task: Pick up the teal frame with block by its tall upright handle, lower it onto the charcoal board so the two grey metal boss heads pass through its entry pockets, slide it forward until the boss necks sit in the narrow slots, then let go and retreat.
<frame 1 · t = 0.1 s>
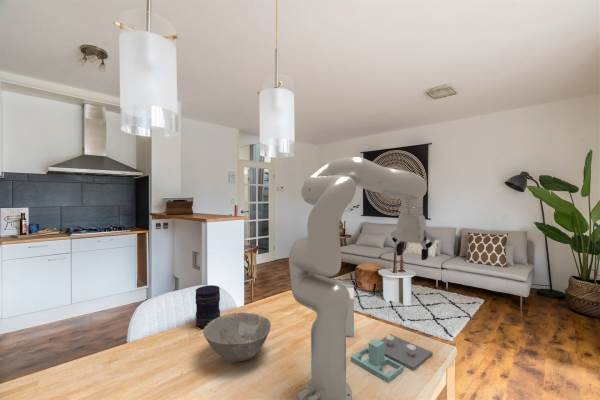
hand: (411, 257, 104), 31 cm above the table, fingers open, 9 cm apart
ceramic bowl: (238, 355, 95), on the table
storage jar: (208, 324, 117), on the table
board: (400, 351, 96), on the table
teal frame with block: (376, 365, 89), on the table
milk carton: (344, 332, 110), on the table
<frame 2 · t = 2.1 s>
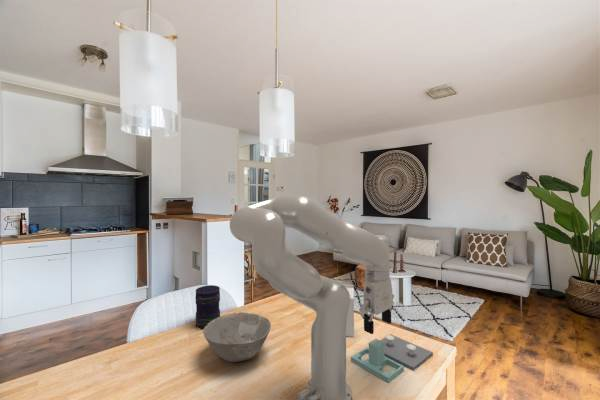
hand: (377, 326, 89), 12 cm above the table, fingers open, 9 cm apart
nothing on the table moved.
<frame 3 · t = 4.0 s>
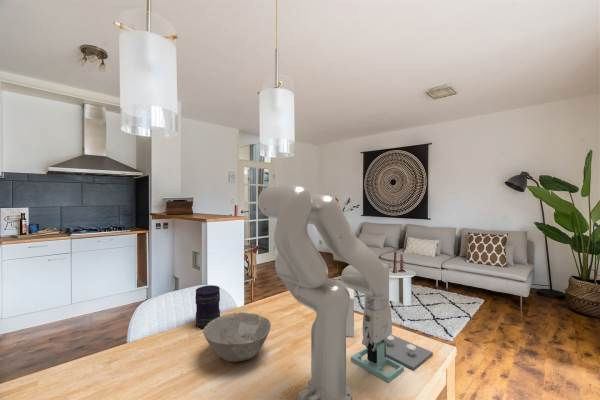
hand: (376, 357, 89), 3 cm above the table, fingers closed on teal frame with block, 4 cm apart
teal frame with block: (376, 365, 89), on the table, touching gripper
everything else where it was.
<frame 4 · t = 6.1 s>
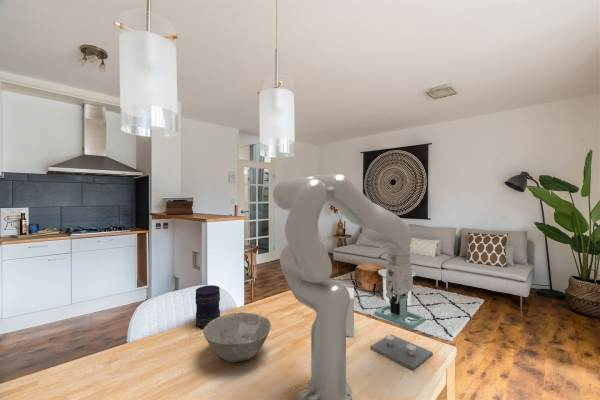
hand: (398, 311, 95), 15 cm above the table, fingers closed on teal frame with block, 4 cm apart
teal frame with block: (398, 318, 95), point 12 cm above the table, touching gripper
everything else where it was.
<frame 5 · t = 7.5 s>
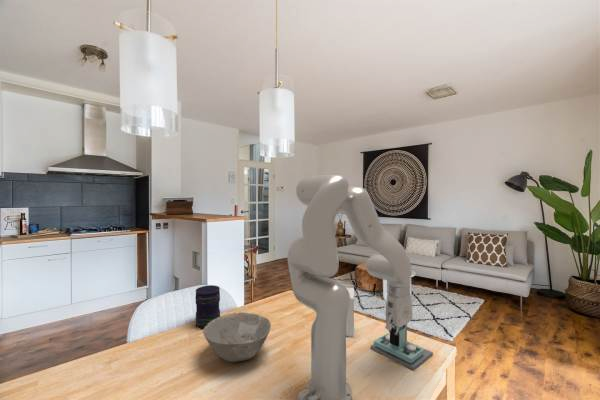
hand: (398, 341, 95), 4 cm above the table, fingers closed on teal frame with block, 4 cm apart
teal frame with block: (398, 349, 95), point 2 cm above the table, touching gripper
everything else where it was.
when the fingers open (4 cm above the table, at t = 8.6 s): teal frame with block stays where it is, resting on board.
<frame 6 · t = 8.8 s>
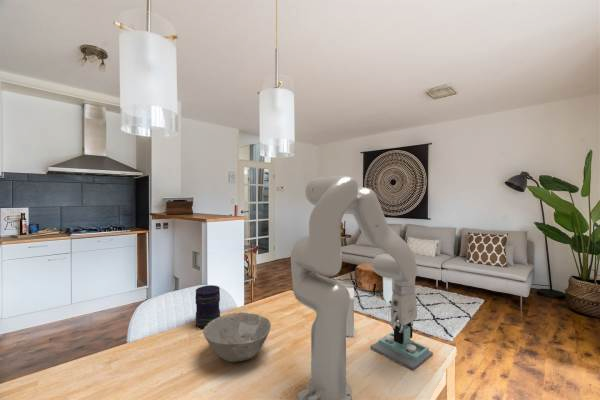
hand: (403, 338, 97), 4 cm above the table, fingers open, 5 cm apart
teal frame with block: (402, 347, 97), point 1 cm above the table, touching board
everything else where it was.
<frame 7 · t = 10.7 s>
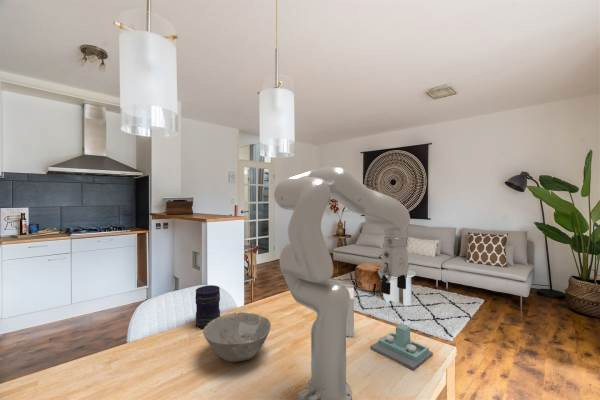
hand: (393, 290, 97), 21 cm above the table, fingers open, 9 cm apart
nothing on the table moved.
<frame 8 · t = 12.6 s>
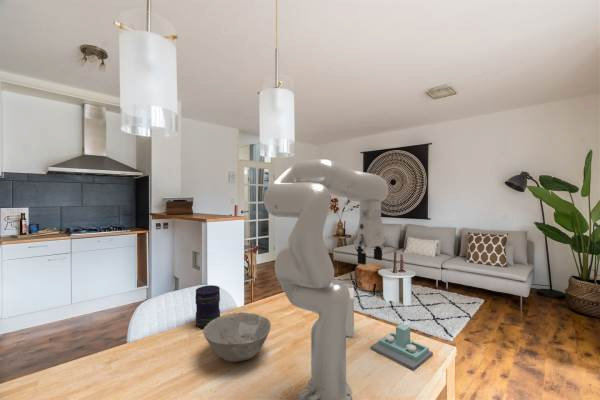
hand: (370, 261, 101), 30 cm above the table, fingers open, 9 cm apart
nothing on the table moved.
at the end: teal frame with block 0.5 cm from the target spot on the board, point 1.0 cm above the board's base; teal frame with block tilted 0°; the gripper is holding nothing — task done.
